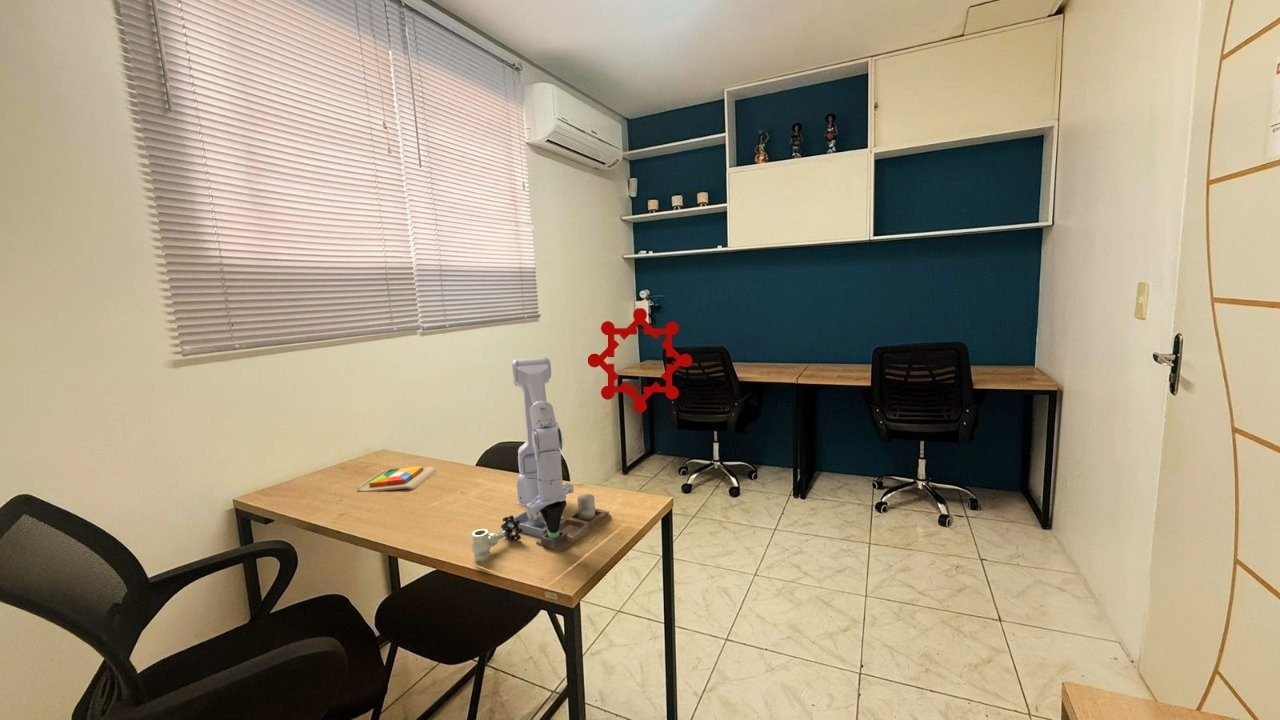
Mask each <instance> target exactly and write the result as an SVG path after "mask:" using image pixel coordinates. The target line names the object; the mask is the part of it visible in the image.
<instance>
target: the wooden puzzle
mask: <svg viewBox="0 0 1280 720" xmlns="http://www.w3.org/2000/svg"><path fill="white" fill-rule="evenodd" d="M434 472H436V473H437V470H436V468H435V467H433V466H428V467H424V466H423V465H421V466H413V467H404V468H393V469H389V470H388V469H383V470H381V471H379V472H378V473H376V474H375V475H373V476H372V477H370V478H369V479H367V480H366V481H364V482H363V483H361V484H360V485H358V487H357V491H358V492H359V493H361V492H362V493H367V492H368V493H369V492H371V493H372V492H373V493H374V492H383V491H393V490H401V489H403V490H404V489H408V490H411V491H413V490H415V488H416V487H417V488H418V487H419V486H421V485H422V484H423V483H425V482H426V481H427V480H428V479H429V478H430V477H429V476H430V475H432V474H433V473H434ZM434 474H435V473H434ZM434 474H433V475H434ZM433 475H432V476H433ZM428 477H429V478H428ZM427 478H428V479H427ZM426 479H427V480H426ZM425 480H426V481H425ZM421 483H422V484H421ZM420 484H421V485H420ZM417 488H416V489H417Z"/></svg>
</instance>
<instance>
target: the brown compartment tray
mask: <svg viewBox="0 0 1280 720" xmlns="http://www.w3.org/2000/svg"><path fill="white" fill-rule="evenodd" d="M611 517H612V514H610V511H608V510H604V509H601V508H600V509H599V508H596V506H595V496H594V495H593V494H589V493H585V494H581V495H579V496H578V497H577V510H575V511H573V512H572V513H570V514H569V515H567V516H565V517H564V519H563V520H561V521H560V526H559V537H558V538H557V539H555V540H554V539H550V538H549V536H548V531H549V530H548V529H547V530H546V534H545V535H543V536H542V537H541V538H539V539H538V540H536V541H535V543H536V545H538V546H541V547H545V548H548V549H552V550H556V551H558V552H562V553H564V552H566V551H567V550H568V549H570V548H571V547H573V546H574V545H576V543H578V542H579V541H580V540H582V539H583V538H584V537H586V536H587V535H588V534H590V533H591V532H593V531H594V530H596V529H597V528H598V527H599V526H600V525H602V524H603V523H605V522H606V521H607V520H609V519H610V518H611Z"/></svg>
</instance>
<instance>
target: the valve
mask: <svg viewBox="0 0 1280 720" xmlns="http://www.w3.org/2000/svg"><path fill="white" fill-rule="evenodd" d="M514 517H515V516H514V515H509V516H505V517H503V518H502V522H503V524H501V525H500V528H501V529H502V530H500V531H498V532H496V533H493V532H491V533H489V531H488V529H487V528H486V529H485V528H481V529H476V530H474V531H473V532H472V533H471V536H472V537H471V538H472V544H471V550H472V553H473V557H474V560H475V562H485V561H487V560H489V559H490V558H491V552H490V550H491V548H492V547H495V546H497V545H498V542H499V541H500V540H502V539H503V538H507V539H509V540H510V541H512V542H513V541H514V540H515V541H516V542H517V541H520V540H521V539H522V536H521V535H520V534H522V533H523V530H522V529H521V528H519V527H518V525H519V524H520V522H519V520H516V521H514V520H513V519H514ZM508 523H512V524H513V525H514V526H513V525H511V526H508ZM515 529H516V530H515ZM514 532H515V534H513V533H514Z"/></svg>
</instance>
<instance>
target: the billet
mask: <svg viewBox="0 0 1280 720" xmlns="http://www.w3.org/2000/svg"><path fill="white" fill-rule="evenodd" d="M530 503H532V502H530ZM530 503H528V504H527V505H529V504H530ZM527 505H526V506H525V507H526V508H527ZM536 513H537V514H535V515H530V514H527V520H528V525H530V526H533V527H537V528H541V529H542V528H544V527H545V520H544V518H543V516H542V514H541V513H540V511H537V512H536Z"/></svg>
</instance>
